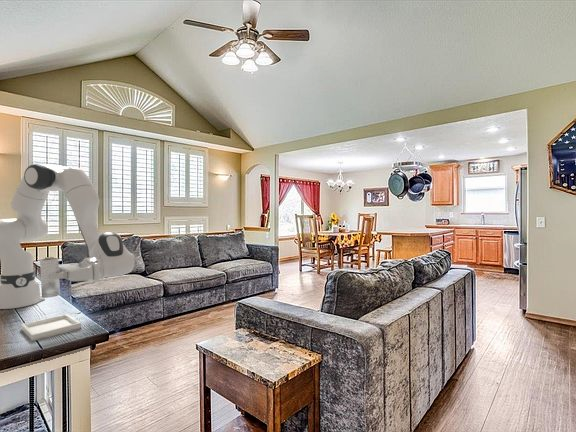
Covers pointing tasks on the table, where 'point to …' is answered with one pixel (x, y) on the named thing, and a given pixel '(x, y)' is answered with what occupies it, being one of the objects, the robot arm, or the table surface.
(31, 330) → the cream tray
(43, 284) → the metal cup with balls
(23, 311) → the table surface
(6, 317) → the table surface
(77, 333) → the table surface
